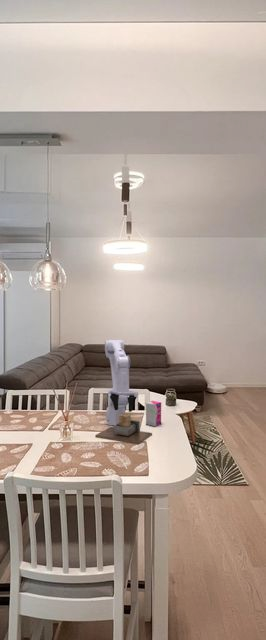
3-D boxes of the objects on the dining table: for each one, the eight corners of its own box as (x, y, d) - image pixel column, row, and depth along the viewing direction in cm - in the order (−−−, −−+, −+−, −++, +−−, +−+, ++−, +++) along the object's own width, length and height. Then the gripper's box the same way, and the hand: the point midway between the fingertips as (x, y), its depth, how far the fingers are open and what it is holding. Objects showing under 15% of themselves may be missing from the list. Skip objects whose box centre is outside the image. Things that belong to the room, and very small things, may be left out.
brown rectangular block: (118, 430, 176) (118, 415, 176) (123, 428, 179) (122, 413, 179) (126, 431, 174) (126, 416, 174) (130, 429, 177) (130, 414, 177)
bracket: (95, 437, 174) (95, 424, 174) (111, 428, 187) (110, 416, 187) (138, 444, 164) (138, 430, 164) (152, 435, 177) (151, 422, 177)
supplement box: (155, 427, 189) (155, 404, 188) (145, 425, 192) (145, 402, 192) (161, 424, 193) (161, 401, 193) (152, 422, 197) (151, 400, 197)
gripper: (105, 382, 181) (105, 410, 181) (132, 384, 174) (133, 414, 174) (113, 380, 187) (113, 407, 187) (139, 381, 180) (140, 410, 180)
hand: (123, 410), depth 181 cm, fingers open, 7 cm apart
